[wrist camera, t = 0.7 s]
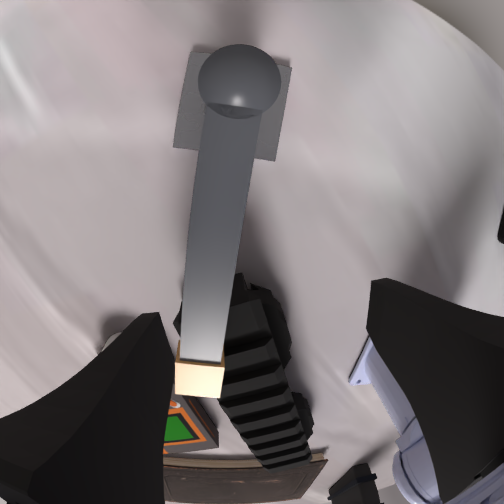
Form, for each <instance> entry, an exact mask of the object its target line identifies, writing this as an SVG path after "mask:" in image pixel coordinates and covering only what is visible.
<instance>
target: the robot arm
mask: <svg viewBox="0 0 504 504" xmlns="http://www.w3.org/2000/svg"><path fill="white" fill-rule="evenodd" d="M366 329H367V332H368V334H369V336H370V337H369V339H368V341H367V343H366V345H365V348H364V350H363V352H362V354H361V356H360V358H359V360H358V362H357V365H356V367H355V369H354V371H353V373H352V375H351V377H350V379H349V381H348V382H349V384H350V385H362V384H372V385H373V387H374V389H375V390H376V392H377V394H378V396H379V397H380V399H381V401H382V403H383V405H384V406H385V408H386V410H387V412H388V414H389V416H390V417H391V419H392V421H393V423H394V425H395V427H396V428H397V430H398V432H399V434H400V436H401V437H400V438H398V439H397V440H396V444H397V446H398V447H399V449H400V450H399V451H398V452H396V454H395V455H394V459H393V466H392V471H393V476H394V479H395V482H396V484H397V486H398V488H399V490H400V492H401V493H402V495H403V496H404V497H405V498H406V500H407V501H409V502H410V503H411V504H504V317H500V316H496V315H491V314H487V313H483V312H480V311H476V310H472V309H469V308H466V307H463V306H460V305H457V304H454V303H452V302H449V301H446V300H443V299H441V298H438V297H436V296H433V295H431V294H428V293H426V292H423V291H421V290H419V289H416V288H414V287H411V286H409V285H406V284H404V283H401V282H398V281H395V280H392V279H389V278H383V279H378V280H373V281H371V291H370V300H369V309H368V318H367V325H366ZM173 378H174V357H173V354H172V351H171V348H170V345H169V342H168V339H167V336H166V333H165V330H164V327H163V324H162V320H161V317H160V314H159V312H154V313H143V314H141V315H140V316H138V317H137V318H136V319H135V320H134V321H133V322H132V323H131V324H130V325H129V326H128V327H127V328H126V329H125V330H124V331H123V332H122V333H121V334H120V335H119V336H118V337H117V338H116V339H115V340H114V341H113V342H112V343H110V344H109V345H108V346H107V347H106V348H105V349H104V350H103V351H102V352H101V353H100V354H99V355H98V356H97V357H95V358H94V359H93V360H92V361H91V362H90V363H89V364H88V365H87V366H85V367H84V368H83V369H82V370H81V371H79V372H78V373H77V374H76V375H74V376H73V377H72V378H70V379H69V380H68V381H66V382H65V383H64V384H62V385H61V386H60V387H58V388H57V389H55V390H53V391H52V392H50V393H49V394H47V395H45V396H44V397H42V398H41V399H39V400H37V401H36V402H34V403H32V404H30V405H28V406H26V407H25V408H23V409H21V410H18V411H16V412H14V413H12V414H10V415H8V416H5V417H3V418H0V497H1V498H2V499H4V500H5V501H6V502H7V504H165V499H164V479H163V448H164V438H165V431H166V425H167V419H168V412H169V406H170V400H171V394H172V388H173Z"/></svg>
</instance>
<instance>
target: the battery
mask: <svg viewBox="0 0 504 504" xmlns="http://www.w3.org/2000/svg"><path fill="white" fill-rule="evenodd" d="M498 240H499V242H501V243H503V244H504V213H503V217H502V222H501V226H500V230H499V234H498Z"/></svg>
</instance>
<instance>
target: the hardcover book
mask: <svg viewBox="0 0 504 504" xmlns="http://www.w3.org/2000/svg"><path fill="white" fill-rule="evenodd" d="M312 457H313V458H312V460H311V462H310V463H309V464H308V465H304V466H300V467H297V468H293V469H289V470H285V471H281V472H276V473H272V474H271V473H269V472H268V471H266V470H265V469H264V468H263V467H262V465H261V463H260V462H259V461H258V460H201V459H184V458H173V457H163V479H164V499H165V501H169V502H179V503H193V504H252V503H266V502H277V501H286V500H293V499H300V498H301V497H302V496H303V495H304V493H305V492H306V491H307V489H308V488H309V487H310V485H311V484H312V483H313V481H314V480H315V479H316V477H317V476H318V474H319V473H320V472H321V470H322V469H323V467H324V466H325V464H326V463H327V462H328V459H324V457H323V453H318V454H312Z"/></svg>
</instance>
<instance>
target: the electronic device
mask: <svg viewBox="0 0 504 504" xmlns="http://www.w3.org/2000/svg"><path fill="white" fill-rule="evenodd" d="M121 333H122V332H119V333H116V334H113V335H112V336H110V338H109V339H108V340H107V342H106V344H105V346H104V348H103V349H102V351H103V350H104V349H105V348H106V347H107V346H108V345H109V344H110V343H112V342H113V341H114V340H115V339H116V338H117V337H118V336H119V335H120V334H121ZM102 351H101V352H102ZM213 448H219V432H218V430H217V429H216V427H215V426H214V424H213V423H212V421H211V420H210V418H209V417H208V415H207V414H206V412H205V411H204V409H203V408H202V406H201V405H200V403H199V402H198V400H197V398H196V397H195V396H190V395H181V394H175V364H174V378H173V388H172V394H171V400H170V406H169V412H168V419H167V425H166V431H165V438H164V448H163V454H169V453H181V452H190V451H199V450H206V449H213Z"/></svg>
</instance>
